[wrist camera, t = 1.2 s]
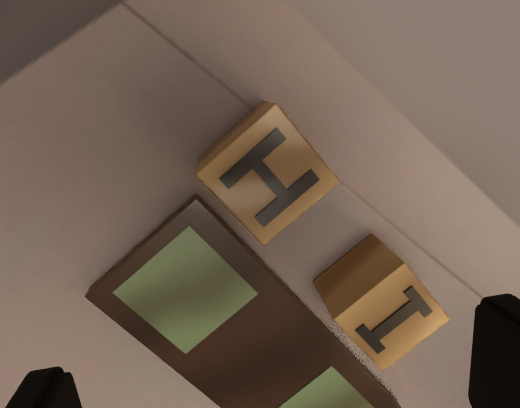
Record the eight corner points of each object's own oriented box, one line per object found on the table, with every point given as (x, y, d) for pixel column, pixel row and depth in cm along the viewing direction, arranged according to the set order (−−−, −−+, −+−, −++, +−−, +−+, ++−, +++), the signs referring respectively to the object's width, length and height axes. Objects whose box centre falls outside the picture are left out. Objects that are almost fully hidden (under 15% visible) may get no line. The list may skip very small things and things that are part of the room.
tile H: (198, 158, 22) (194, 175, 18) (263, 100, 22) (277, 102, 17) (254, 218, 23) (264, 248, 19) (316, 165, 23) (341, 182, 19)
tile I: (312, 281, 25) (334, 321, 21) (371, 232, 25) (406, 263, 20) (355, 326, 27) (384, 373, 22) (411, 282, 26) (452, 321, 22)
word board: (89, 288, 23) (83, 297, 22) (197, 193, 23) (196, 198, 22) (305, 467, 30) (309, 480, 29) (396, 398, 29) (403, 410, 28)
